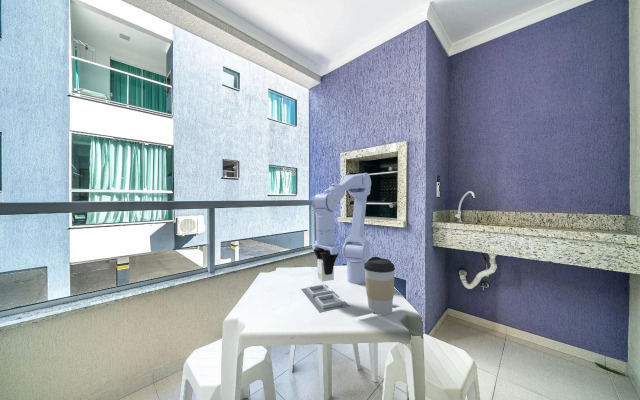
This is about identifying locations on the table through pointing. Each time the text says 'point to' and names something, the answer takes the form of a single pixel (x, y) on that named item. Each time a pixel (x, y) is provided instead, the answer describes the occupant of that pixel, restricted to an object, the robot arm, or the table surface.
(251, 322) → the table surface
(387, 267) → the coffee cup
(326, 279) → the plug
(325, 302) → the panel
